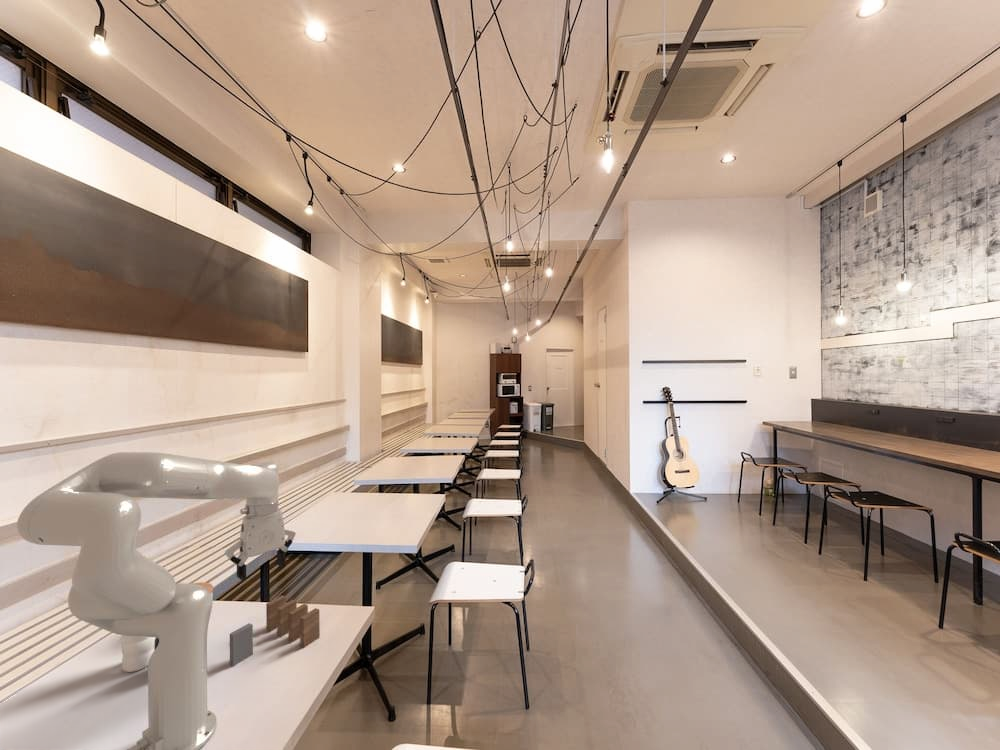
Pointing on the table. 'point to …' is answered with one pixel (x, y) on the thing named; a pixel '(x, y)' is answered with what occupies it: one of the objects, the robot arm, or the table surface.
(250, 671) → the table surface
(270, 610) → the domino
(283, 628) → the domino
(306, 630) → the domino
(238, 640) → the domino
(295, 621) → the domino
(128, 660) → the water bottle
